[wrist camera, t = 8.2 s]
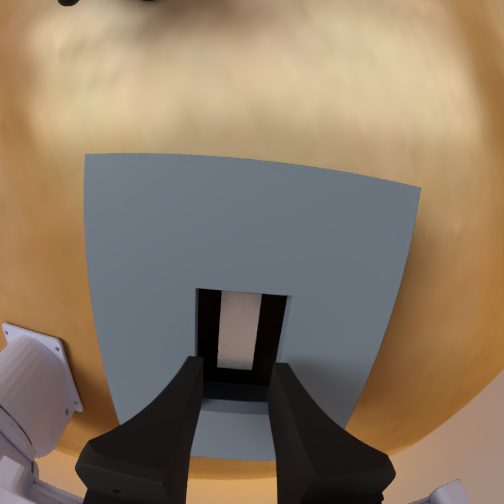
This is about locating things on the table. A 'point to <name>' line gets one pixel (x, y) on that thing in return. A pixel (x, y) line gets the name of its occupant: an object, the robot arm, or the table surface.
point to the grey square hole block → (241, 277)
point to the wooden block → (238, 329)
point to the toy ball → (72, 0)
